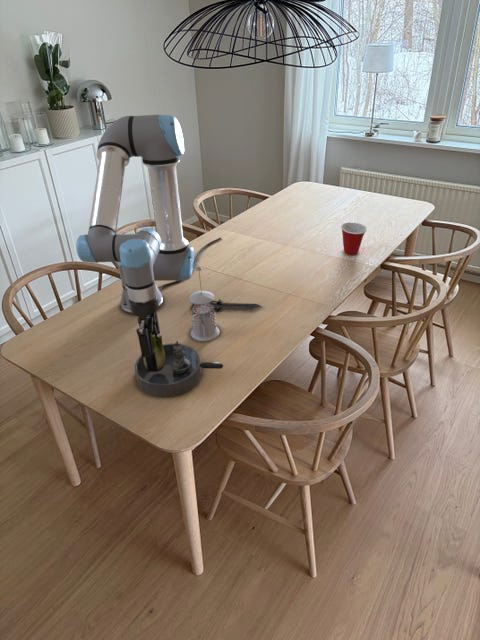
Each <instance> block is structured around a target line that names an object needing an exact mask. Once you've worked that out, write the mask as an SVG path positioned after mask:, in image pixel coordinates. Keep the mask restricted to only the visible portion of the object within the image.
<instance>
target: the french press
mask: <svg viewBox="0 0 480 640" xmlns="http://www.w3.org/2000/svg"><path fill="white" fill-rule="evenodd" d="M202 270H203V268H202V266H201V265H197V266H196V267H195V271H197V272H198V276H199V279H201V271H202ZM199 286H200V289H202V281H201V280H199ZM214 299H215V294H214V293H212V292H211V291H207V290H198V291H194V292H193V293H192V294H190V296H189V297H188V301H189V302H190V303H191V304H192V306H193V304H195V305H194V306H193V307H191V312H190V315H191V322H192V323H191V324H192V329H191V331H190V337H191V338H192V339H193V340H196V341H199V342H208V341H212V340H214V339H217V337H219V335H220V328H219V327H217V317H216V309H215V310H214V308H215V307H213V306H214V305H212V304H210V302H211V301H214Z"/></svg>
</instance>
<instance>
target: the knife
mask: <svg viewBox="0 0 480 640" xmlns="http://www.w3.org/2000/svg"><path fill="white" fill-rule="evenodd" d="M210 304H212V305H213V307H214V310H215V311H216V313H218V312H220V311H221V310H222V309H224V310H254V309H257V308H259V307H260V308H262V307H263V306H262V305H260V304H257V303H244V302H243V303H242V302H241V303H240V302H238V303H237V302H223V300H221V299H218V301H217V300H213V301H211V302H210ZM194 305H195V304H192V307H193V306H194ZM192 307H191V308H192Z"/></svg>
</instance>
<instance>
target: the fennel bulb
mask: <svg viewBox="0 0 480 640" xmlns="http://www.w3.org/2000/svg"><path fill="white" fill-rule="evenodd" d="M162 336H163V335H162V334H158V335H157V339H158V346H157V342H156V338H155V335H152V342H153V352H155V356H156V362H157V368H158V371H160V370H162V369H163V367H164V365H165V352H164V348H163V337H162ZM143 359H144V365H145V367H146V369H148V368H147V363H146V358H145V357H143Z"/></svg>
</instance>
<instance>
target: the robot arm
mask: <svg viewBox="0 0 480 640" xmlns="http://www.w3.org/2000/svg"><path fill="white" fill-rule="evenodd" d="M101 135H102V136H101V137H100V139H99V141H98V144H97V148H96V149H97V150H96V158H97V160H98V166H97V172H96V178H95V186H94V192H93V199H92V205H91V211H90V216H89V217H90V219H89V223H88V224H89V225H88V231H87V234H86V233H85V234H81V235H79V236H78V238H77V239H76V242H75V248H76V250H75V251H76V253H77V256H78V259H79V260H81V262H84V263H92V264H93V263H95V264H98V263H116V265H117V268H118V272H119V276H120V281H121V286H122V290H121V296H120V306H121V307H120V308H121V309H122V311H123V312H124V313H126V314H129V315H135V316H136V317H137V323H138V325H139V326H138V327H139V328H136V330H135V331H136V334H137V336H138V337H137V338H138V343H139V348H140V353H141V354H140V355H142V357H145V358H146V363H147V368H148V372H157V371H158V368H157V362H156V356H155V352H153V342H152V335H155V338H156V342H157V346H158V339H157V335H161V329H160V324H159V317H158V312H157V311H158V310H159V309H160V308H161V306H162V305H163V304H164V303H163V302H164V298H163V294H162V293H161V291H160V289H162V288H165V287H168V286H171V285H174V284H178V283H181V282H182V281H188V280H190V279H191V277H192V275H193V270H194V268H195V265H196V263H197V260H198V258H199V257H200V255H201V253H202V252H203V251H204V250H205V249H206V248H207V247H208V246H210V245H211V244H214V243H216V242H219V241H220V240H222V237H219V238H216V239H214V240H212V241H210V242H208V243H207V244H205V245H204V246H203V247H201V248H200V250H199V251H198V252H197V254H196V256H195V248H194V247H193V246H189V240H187V238H185V237H184V231H183V223H182V213H181V203H180V194H179V193H180V192H179V183H178V175H177V174H178V172H177V165H178V164H179V163H180V161H181V157H182V156H183V155H184V153H185V142H184V136H183V131H182V128H181V125H180V122H179V121H178V119H177V118H176V116H174V115H172V114H161V113H160V114H145V115H144V114H143V115H125V116H122V117H119V118H118V119H116V120H114V121H113V122H112V123H111V124H110V125H108V127H107V128H106V129H105V130H104V132H103V134H101ZM133 157H135V158H136V157H137V158H139V157H141V160H142V164H143V166H145V167H146V168H147V169H148V174H149V175H148V176H149V181H150V182H149V183H150V189H151V199H152V205H153V212H154V213H153V214H154V220H155V227H156V230H154V229H152V228H142V229H140V230H139V231H137V232H136V233H123V234H122V233H121V234H119V233H118V234H117V230H118V223H119V214H120V208H121V207H120V206H121V202H122V201H121V200H122V193H123V184H124V178H125V171H126V167H127V166H128V165H129V163H130V161H131V160H130V159H131V158H133ZM156 281H157V282H161V281H163V282H164V281H165V282H166V281H169V282H167V283H165V284H162V285H159V286H157V284H156ZM170 281H171V282H170Z"/></svg>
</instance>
